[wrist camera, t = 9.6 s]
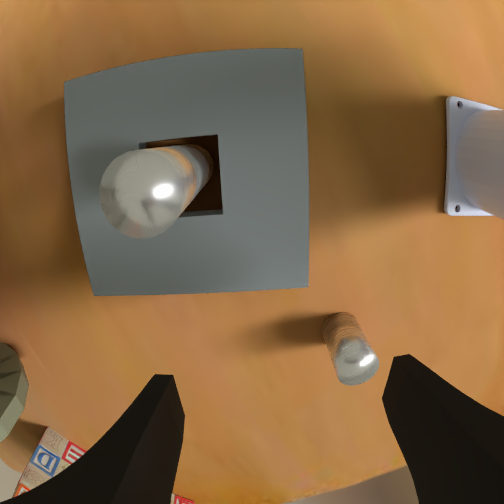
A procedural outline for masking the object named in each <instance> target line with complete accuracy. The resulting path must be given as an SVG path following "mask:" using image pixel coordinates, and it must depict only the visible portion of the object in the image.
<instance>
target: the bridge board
mask: <svg viewBox="0 0 504 504" xmlns="http://www.w3.org/2000/svg"><path fill="white" fill-rule="evenodd" d="M64 105H65V128H66V142H67V154H68V164H69V172H70V181H71V188H72V195H73V202H74V208H75V214H76V220H77V225H78V230H79V235H80V240H81V245H82V250H83V254H84V259H85V263H86V267H87V271H88V275H89V279H90V283H91V287H92V291H93V295H94V296H122V295H165V294H194V293H218V292H238V291H257V290H273V289H289V288H304V287H308V276H309V165H308V133H307V110H306V92H305V76H304V61H303V49H293V48H262V49H237V50H222V51H211V52H201V53H193V54H185V55H178V56H171V57H165V58H159V59H153V60H148V61H142V62H137V63H133V64H128V65H124V66H119V67H115V68H111V69H107V70H103V71H99V72H96V73H92V74H89V75H85V76H82V77H78V78H75V79H72V80H69V81H66V82H64ZM210 135H218V147H219V162H220V177H221V191H222V205H223V209H217V210H203V211H189V212H182V213H181V215H180V216H179V217H178V218H177V220H176V221H175V222H174V223H173V224H172V225H171V227H170V228H168V229H167V230H166V231H165V232H163V233H161V234H160V235H157V236H155V237H151V238H145V239H139V238H133V237H129V236H127V235H124V234H123V233H121V232H119V231H118V230H117V229H115V228H114V227H113V226H112V225H111V224H110V222H109V221H108V220H107V218H106V217H105V215H104V213H103V210H102V207H101V204H100V197H99V189H100V183H101V179H102V176H103V174H104V172H105V170H106V169H107V167H108V166H109V165H110V163H111V162H112V161H113V160H114V159H116V158H117V157H118V156H120V155H122V154H124V153H126V152H129V151H134V150H141V149H146V143H148V142H155V141H163V140H171V139H180V138H189V137H199V136H210Z"/></svg>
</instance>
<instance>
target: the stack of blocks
mask: <svg viewBox="0 0 504 504" xmlns="http://www.w3.org/2000/svg"><path fill="white" fill-rule="evenodd" d="M86 452H87V451H85V450H83V449H82V448H80V447H78V446H77V445H75V444H74V443H72V442H70V441H69V440H67V439H66V438H64V437H63V436H61V435H60V434H58V433H57V432H55V431H54V430H52V429H51V428H50V427H47V429H46V430H45V432H44V434H43V436H42V437H41V439H40V441H39V443H38V445H37V447H36V448H35V451H34V453H33V455H32V456H31V458H30V460H29V462H28V464H27V466H26V468H25V470H24V472H23V474H22V476H21V478H20V480H19V482H18V484H17V487H16V489H15V492H14V495H13V497H16V496H18V495H21V494H23V493H25V492H27V491H29V490H31V489H33V488H35V487H37V486H39V485H40V484H42V483H44V482H46V481H47V480H49V479H51V478H52V477H54V476H56V475H57V474H58V473H60V472H61V471H63V470H64V469H66V468H67V467H68V466H70V465H71V464H72V463H73V462H75V461H76V460H77V459H79V458H80V457H81V456H82V455H83V454H84V453H86ZM13 497H12V498H13ZM170 504H194V501H191V500H188V499H186V498H183V497H180V496H177V495H175V494H173V493H172V496H171V503H170Z"/></svg>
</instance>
